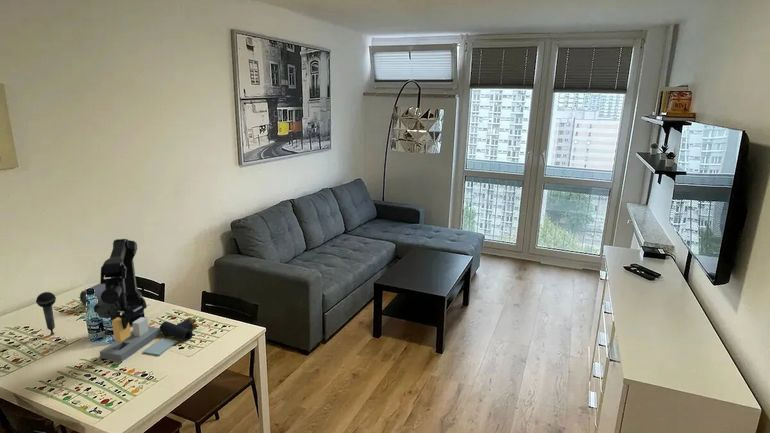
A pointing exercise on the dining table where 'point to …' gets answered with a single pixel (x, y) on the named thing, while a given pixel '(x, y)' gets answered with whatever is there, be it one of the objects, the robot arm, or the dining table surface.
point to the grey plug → (140, 326)
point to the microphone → (47, 308)
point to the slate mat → (160, 346)
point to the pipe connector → (179, 329)
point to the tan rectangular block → (120, 330)
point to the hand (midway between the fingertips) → (121, 328)
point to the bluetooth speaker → (98, 291)
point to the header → (129, 345)
